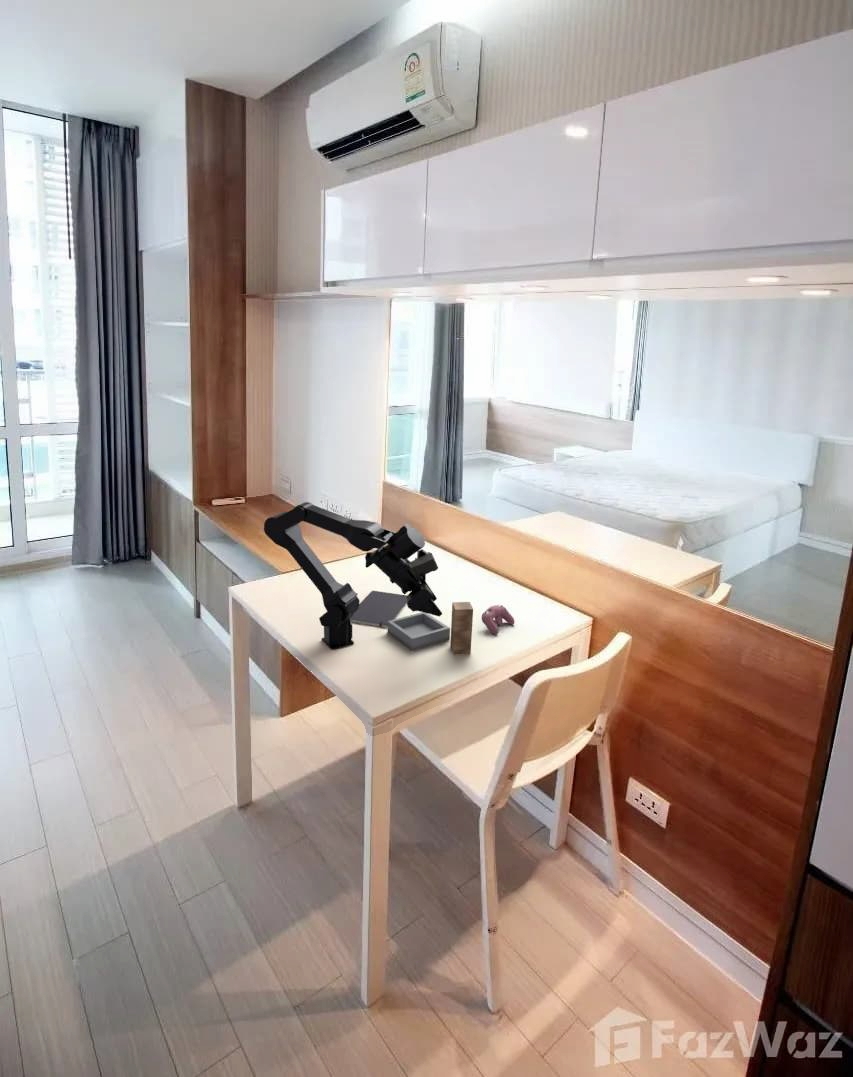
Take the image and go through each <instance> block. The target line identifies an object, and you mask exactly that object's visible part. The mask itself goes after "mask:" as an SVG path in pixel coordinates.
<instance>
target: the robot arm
mask: <svg viewBox="0 0 853 1077" xmlns="http://www.w3.org/2000/svg"><path fill="white" fill-rule="evenodd" d="M302 522H304V523H307V524H310V525H312V526H315V527H318V528H320V529H322V530H325V531H328V532H330V533H333V534H335V535H338V536H340V537H343V538H344V539H345V540H346V541H347V542H348V543H349V544H350V545H351V546H353V547H354V548H356V549H358V550H360V551H362V552H366V554H365V556H364V559H365V568H369V567H370V566H373V564H374V566H376V567H377V568H378V569H379V570H380V571H381V572H382V573H383V574H385V575H386V577H387V578H389V582H390V583H392V584H395V585H397V586H398V587H399V588H400V590H401V593H402V594H403V595H406V594H407V593H408V592H409V593H408V594H407V596H406V602H407V605H406V607H407V608H408V609H410V611H411V612H412V613H413V612H419V613H421V612H424V613H427V614H429V615H431V616H436V617H441V616H442V615H443V613H442V611H441V609H440V607H438V605H437V604H436V602H435V601H437V599H438V598H437V596H436V595H435V593H434V592H433V590H432V589H431V587H430V586H429V584H428V583H427V581H426V580H427V578H426V575H428V574H430V573H432V572H435V571H437V570H438V569H439V566H438V564H437V562H436V559H435V556H434V554H433V553H432V552H430V551H428V552H427V551H426V550H424V549H423V548H424V547H425V545H426V543H425V539H424V536H423V535H422V533H421V532H420V531H418V530H417V529H416V528H414V527H411V525H409V523H405V524H404V525H403V526H401V527H400V528H399V529H398V531H396V532H395V531H393V530H390V529H387V528H385V527H383V526H382V525H381V524H380V523H378V522H375V521H371V520H370V521H369V520H364V519H363V520H361V519H359V520H358V519H351V518H348V517H346V516H343V515H340V514H338V513H335V512H333V511H330V510H328V509H325V508H323V507H319V506H316V505H314V503H311V502H308V501H305V502H302V503H300V504H298V505H296V506H294V507H293V508H292V509H291V510H289V511H281V512H279V513H277V514H274V515H273V516H269V517H268V518H266V520H264V524H263V532H264V533H265V535H266V537H268V538H269V539H270V540H271V541H272V542H273V543H274V544H275V545H277V546H279V547H280V548H283V549H285V550H286V551H287V552H288V554H290V555H291V557H292V558H293V559H294V561H295V562H296V563H297V565H299V567H300V568H301V569H302V571H303V572H304V573H305V574H306V576H307V577H308V579H309V580H310V581H311V583H312V584H313V585H314V587H315V588H317V590H318V591H319V593H320V594H321V597H322V603H323V606H324V609H325V610H326V612H325V613H323V614H322V615H321V616H320V617H319V618H318V619H319V623H320V625H321V626H323V637H322V638H321V642H323V643H324V644H325V645H326V646H327V647H328V648H329V649H330V650H332V651H334V650H338V649H341V648H345V647H348V646H351V645H354V644H355V641H354V640H352V639H353V624H352V622H351V620H350V619H349V618H350V617H352V616H353V614H354V613H355V612H356V611H357V610H358V608H359V604H360V603H361V602H360V599H359V597H358V595H359V593H358V592H356V591H355V590H354V588H352V586H351V584H350V583H349V582H346V583H344V584H342V583H340V582H338V581H337V580H336V579H335V577H333V575H332V574H331V572H330V571H329V570H328V569H327V567H326V566H325V564H324V563H323V562H322V561H321V560H320V559H319V557H318V556H317V555H316V553H315V552H314V551H313V549H312V548H311V547H310V545H308V543H307V541H306V540H305V539H304V537H303V534H302V533H303V532H302V528H301V525H300V523H302ZM374 549H375V550H374ZM372 550H374V551H372ZM370 551H372V552H370ZM416 553H417V555H416V557H415V558H414V559H413V560H411V561H410V560H409V558H410V557H411V556H413V555H414V554H416Z"/></svg>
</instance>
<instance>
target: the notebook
mask: <svg viewBox="0 0 853 1077" xmlns="http://www.w3.org/2000/svg"><path fill="white" fill-rule="evenodd" d="M407 595H408V594H407ZM407 595H406V594H400V593H391V592H386V591H385V592H384V591H378V590H371V591H370V592H369V593H368V594H367V595H366V596H365V597H364V598H363V599H362V601H361V602H359V608H358V610H357V611H356V612H355V613H354V614H353V616H352V617H350V618H349V619H350V620H351V623H354V624H362V625H367V626H368V625H369V626H374V627H378V628H388V621H390V620H394V619H398V617H399V615H400V614H401V613H402V612H403V610H404V609H405V608H406V607H407V602H406V596H407Z"/></svg>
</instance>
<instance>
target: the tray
mask: <svg viewBox="0 0 853 1077" xmlns="http://www.w3.org/2000/svg"><path fill="white" fill-rule="evenodd" d="M387 634H388V635H389V636H391V637H392V638H394V639H395V640H396V641H397V642H399V643H400V644H402V645H403V646H404V647H406V648H407V649H408V650H410V651H411V652H413V651H416V650H419V649H420V650H421V649H423V648H427V647H430V646H434V645H437V644H441V643H444V642H447V641H451V627H449V626H448V625H447V624H445V623H443V622H441V621H440V620H438V619H437V618H436V617H434V616H433V615H432V614H428V613H424V612H418V613H415V614H414V613H413V614H411V615H405V616H403V617H399V618H398V617H397V618H396V619H394V620H390V621H388V627H387Z"/></svg>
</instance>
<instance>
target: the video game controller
mask: <svg viewBox="0 0 853 1077" xmlns="http://www.w3.org/2000/svg"><path fill="white" fill-rule="evenodd" d="M514 618H515V617H514V616H513V615H512V614H511V613H510V612H509V611H508V609H507V607H505V606H504V605H502V604H501V605H500V604H498V605H497V604H495V605H491V606H490V607H488V608H487V609H486V610H485V611H484V612H482V613H481V621H482V623H483V625H484V626H485V627H486V629H487V630H489V631H490V633H492V635H495V634H496V635H498V634H499V629H498V627H497V626H500V625H502V624H503V621H505V622H506V623H507V624H509V625H511V624H512V626H513V625H515V619H514Z"/></svg>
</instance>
